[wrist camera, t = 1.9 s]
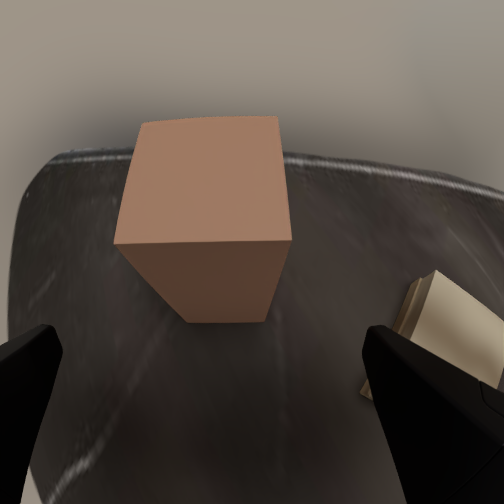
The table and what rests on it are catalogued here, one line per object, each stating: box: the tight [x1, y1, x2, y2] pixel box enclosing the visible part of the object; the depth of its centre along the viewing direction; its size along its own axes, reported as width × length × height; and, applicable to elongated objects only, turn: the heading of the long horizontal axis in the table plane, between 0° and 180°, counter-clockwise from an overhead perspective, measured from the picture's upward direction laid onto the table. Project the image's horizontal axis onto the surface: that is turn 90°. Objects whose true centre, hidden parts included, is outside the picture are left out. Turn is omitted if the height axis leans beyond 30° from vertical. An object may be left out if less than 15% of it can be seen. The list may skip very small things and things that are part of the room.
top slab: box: [369, 270, 504, 398], centre depth 15 cm, size 9×9×2 cm
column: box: [114, 116, 292, 323], centre depth 14 cm, size 5×5×12 cm
